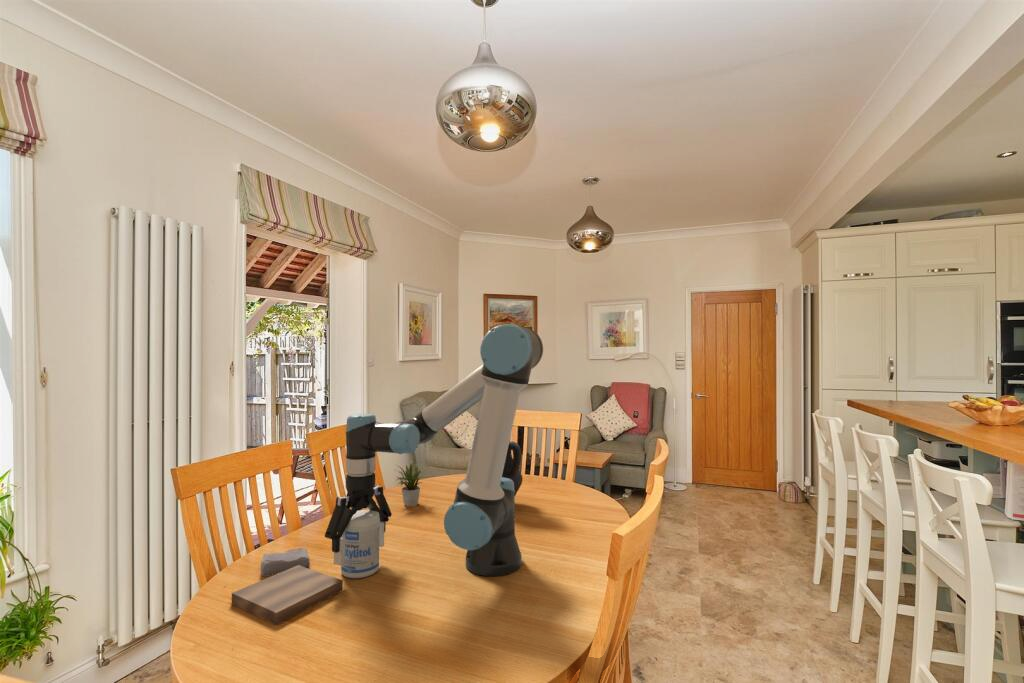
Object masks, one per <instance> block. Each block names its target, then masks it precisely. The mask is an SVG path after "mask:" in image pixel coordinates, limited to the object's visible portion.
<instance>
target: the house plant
mask: <svg viewBox="0 0 1024 683" xmlns="http://www.w3.org/2000/svg"><path fill="white" fill-rule="evenodd" d="M414 464H415V466H414ZM395 466H397V467H398V468H399V469H400V470H401V471H400V470H398V469H397V470H395V472H396V473H397V472H398V473H399V474H401V476H397V475H396V479H395V482H396V481H397V482H398V481H399V482H398V483H397V485H400V486H402V485H404V486H403V487H401V495H402V500H403V505H406V506H405V507H408V506H411V507H416V506H417V504H418V505H419V499H420V492H421V486H419V485H420V484H423V482H420V481H419V480H420V479H421V478H424V477H427V476H426V475H422V476H420V477H419V475H420V474H421V473H422V471H423V470H424V468H423V469H420V470H419V465H417V464H416V463H415V461H410V463H409V467H408V465H407V464H406V465H405V470H404V469H403V468H402V467H401V466H400V465H398V464H395ZM413 467H414V468H413ZM413 469H414V470H413ZM418 477H419V478H418ZM415 505H416V506H415Z"/></svg>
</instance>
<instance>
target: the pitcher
mask: <svg viewBox="0 0 1024 683" xmlns="http://www.w3.org/2000/svg"><path fill="white" fill-rule="evenodd" d="M521 460H522V449H521V447H520V445H519V443H517V442H515V441H509V445H508V450H507V455H506V459H505V464H504V469H503V473H502V477H504V478H509V479H511V480H512V481H513V482H514V490H515V493H514V497H516V495H517V493H518V492H519V490H520V488H521V487H522V483H523V475H522V473H521V471H520V470H519V467H520V465H521Z"/></svg>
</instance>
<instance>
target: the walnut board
mask: <svg viewBox="0 0 1024 683" xmlns="http://www.w3.org/2000/svg"><path fill="white" fill-rule="evenodd" d="M342 590H343V579H340V578H337V577H334V576H331V575H330V574H329V575H328V574H325V573H323V572H320V571H316V570H314V569H311V568H309V567H307V568H305V567H303V566H300V565H298V566H295V567H293V568H290V569H288V570H286V571H283V572H281V573H279V574H274V575H270V576H269V577H266V578H265V579H262V580H260V581H257V582H255V583H252V584H250V585H247V586H245V587H244V588H243V587H242V588H241V589H239V590H236V591H234V592H231V605H233V606H235V607H237V608H240V609H241V610H243V611H245V612H247V613H249V614H252V615H254V616H256V617H259V618H260V619H263V620H265V621H267V622H269V623H271V624H273V625H275V626H277V625H279V624H280V623H283V622H285V621H287V620H289V619H291V618H293V617H295V616H296V614H297V615H298V613H299V614H300V613H303V612H304V611H306V610H308V609H310V608H312V607H314V606H316V605H318V604H320V603H322V602H323V600H324V601H326V600H328V599H329V597H330V598H331V597H333V596H335V595H337V594H339V593H341V592H343V591H342ZM340 591H341V592H340ZM327 598H328V599H327ZM325 599H326V600H325ZM321 601H322V602H321ZM319 602H320V603H319ZM317 603H318V604H317ZM315 604H316V605H315ZM313 605H314V606H313ZM311 606H312V607H311ZM309 607H310V608H309ZM307 608H308V609H307ZM294 615H295V616H294ZM290 617H291V618H290Z"/></svg>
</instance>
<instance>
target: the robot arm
mask: <svg viewBox="0 0 1024 683" xmlns="http://www.w3.org/2000/svg"><path fill="white" fill-rule="evenodd" d="M479 351H480V358H481V360H482V363H483V364H480V366H478V368H476V369H475V370H474V371H472V372H471V373H469V374H468V375H467V376H465V377H464V378H463V379H461V380H460V381H459V382H458V383H456V384H455V385H454V386H452V387H451V388H450V389H448V390H447V391H446V392H444V393H443V394H442V395H441V396H439V397H438V398H436V400H434V401H433V402H432V403H430V404H429V405H427V406H426V407H425V408H423V409H422V410H421V411H419V413H417V414H416V415H415V416H413V417H412V418H409V419H406V420H402V421H398V422H377V417H376V414H373V413H357V414H355V413H354V414H351V415H349V416H348V417H347V419H346V427H345V443H346V444H345V447H346V448H345V449H346V451H345V452H346V454H345V473H346V476H345V489H346V492H347V493H346V495H345V496H342V497H341V496H337V497H336V498H335V506H334V508H333V512H332V514H331V517H330V520H329V523H328V526H327V528H326V530H325V532H324V537H325V538H326V539H329V540H331V551H332V553H333V563H334V564H335V565H337V566H340V567H341V566H342V565H343V563H344V538H341V536H342V535H343V533H344V531H345V529H346V527H347V526H348V524H349V522H350V520H351V518H352V516H353V515H354V514H356V512H357V511H359V510H364V509H368V510H372V511H377V512H378V513H379V518H380V539H379V548H380V547H381V548H383V547H385V533H386V530H387V528H386V526H387V523H388V522H389V520H390V518H391V517H392V514H393V513H392V511H391V508H390V506H389V504H388V502H387V499H386V497H385V495H384V487H383V486H380V485H377V484H376V473H375V472H376V469H377V468H376V453H377V452H378V453H389V454H398V455H403V454H413V453H414V452H416V451H417V450H416V449H417V448H418V447H419V445H422V444H425V443H427V442H430V441H431V440H432V439H433V438H435V436H436V434H437V433H438V432H440V431H441V430H443V429H444V428H445V427H446V426H447V425H449V424H451V423H452V422H453V421H455V420H456V419H457V418H459V417H460V416H461V415H463V414H464V413H465V412H467V411H469V409H471V408H472V407H474V406H475V405H476V404H477V403H479V402H481V404H480V408H479V412H478V418H477V422H476V427H475V431H474V436H473V442H472V447H471V451H470V454H469V455H470V456H469V460H468V466H467V470H466V474H465V478H464V479H462V480H460V481H458V483H457V487H456V492H455V497H454V501H453V504H451V505H450V506H449V507H448V509H447V511H446V512H445V514H444V518H443V527H444V531H445V533H446V535H447V536H448V539H449V540H450V542H451V543H453V544H454V545H455V546H456V547H458V548H460V549H462V550H465V551H466V555H465V568H466V569H467V570H468V571H469V572H471V573H473V574H476V575H477V576H478V575H479V576H482V577H483V576H485V577H501V576H506V575H510V574H513V573H514V572H516V571H518V570H519V569H520V568H521V567H522V564H523V563H522V562H523V559H522V558H523V557H522V553H521V550H520V547H519V543H518V540H517V537H516V528H515V527H516V523H515V522H516V519H515V516H516V514H515V507H516V506H515V501H516V500H515V497H516V496H515V497H514V493H515V490H514V482H513V481H512V480H511V479H509V478H504V477H502V473H503V469H504V464H505V459H506V455H507V450H508V445H509V442H511V441H510V439H511V436H512V431H513V427H514V421H515V418H516V417H515V416H516V412H517V408H518V407H517V406H518V403H519V397H520V393H521V391H522V390H523V389H524V388H526V387H527V386H528V385H529V382H530V377H531V373H532V369H534V368H536V366H538V364H539V363H540V361H541V359H542V358H543V354H544V345H543V341H542V338H541V337H540V336H539V334H538V333H537V332H536V331H534V330H533V328H532V329H531V328H529V327H526V326H522V325H518V324H515V323H513V324H512V323H507V324H506V323H505V324H500V325H497V326H494V327H492V328H491V329H490V330H488V331H487V333H486V334H485V335H484V337H483V339H482V341H481V344H480V348H479ZM373 498H375V500H374V499H373ZM377 504H378V505H377ZM334 564H333V565H334Z"/></svg>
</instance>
